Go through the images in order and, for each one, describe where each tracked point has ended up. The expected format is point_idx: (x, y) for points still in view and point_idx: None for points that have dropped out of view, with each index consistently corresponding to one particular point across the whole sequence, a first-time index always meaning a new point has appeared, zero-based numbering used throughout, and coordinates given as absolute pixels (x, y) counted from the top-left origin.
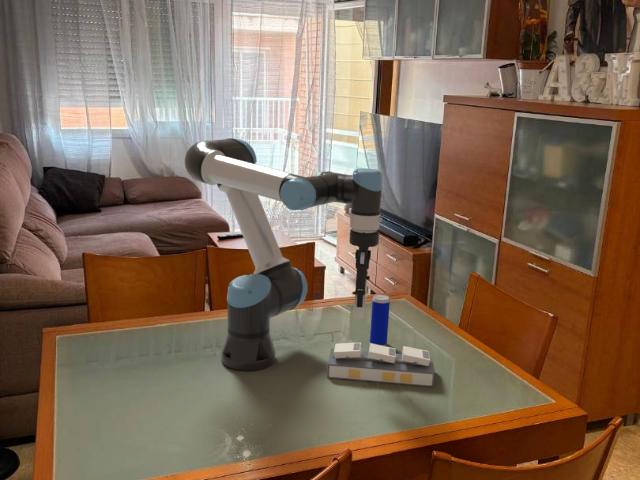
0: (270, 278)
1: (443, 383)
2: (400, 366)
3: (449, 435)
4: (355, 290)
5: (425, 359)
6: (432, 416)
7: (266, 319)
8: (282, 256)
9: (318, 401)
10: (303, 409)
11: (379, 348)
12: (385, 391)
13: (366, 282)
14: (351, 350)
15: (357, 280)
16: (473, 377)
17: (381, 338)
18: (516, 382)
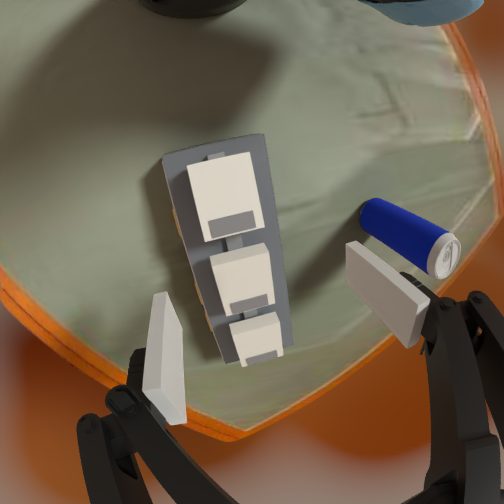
0: None
1: None
2: (225, 313)
3: (100, 376)
4: (78, 438)
5: (240, 361)
6: (129, 358)
7: None
8: None
9: (63, 181)
10: (31, 170)
11: (250, 278)
12: (163, 284)
13: (403, 343)
14: (204, 216)
15: (95, 499)
16: (278, 374)
17: (369, 230)
18: (280, 405)
